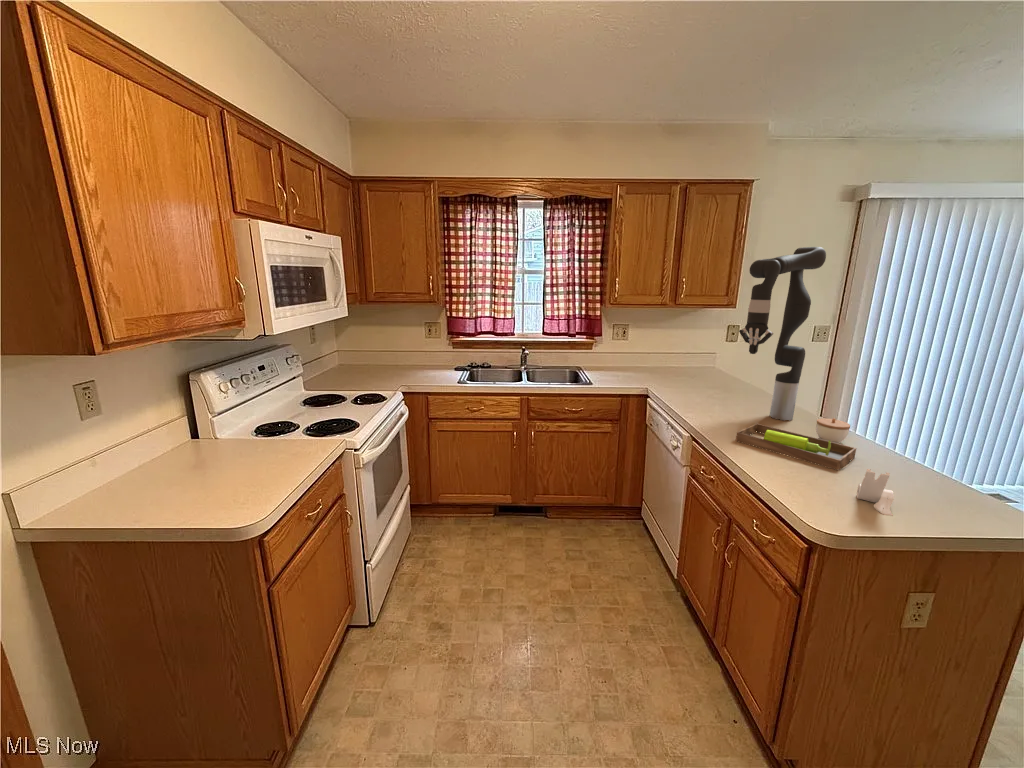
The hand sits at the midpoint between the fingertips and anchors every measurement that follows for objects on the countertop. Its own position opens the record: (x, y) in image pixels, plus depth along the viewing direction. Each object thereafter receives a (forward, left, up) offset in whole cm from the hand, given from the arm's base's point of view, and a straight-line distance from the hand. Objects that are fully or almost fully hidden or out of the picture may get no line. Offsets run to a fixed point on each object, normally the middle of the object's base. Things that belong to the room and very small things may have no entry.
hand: (752, 353), depth 181 cm
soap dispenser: (+15, +15, -28) cm, 35 cm away
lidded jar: (-11, +29, -32) cm, 45 cm away
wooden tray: (+10, +23, -32) cm, 41 cm away
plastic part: (+38, +54, -32) cm, 73 cm away
